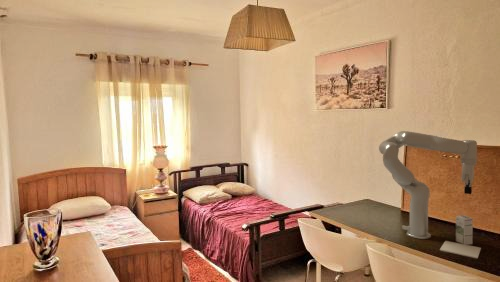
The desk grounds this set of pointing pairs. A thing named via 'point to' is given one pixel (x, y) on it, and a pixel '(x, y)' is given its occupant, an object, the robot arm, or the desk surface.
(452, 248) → the mat
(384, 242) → the desk surface
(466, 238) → the syrup box
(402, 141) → the robot arm
